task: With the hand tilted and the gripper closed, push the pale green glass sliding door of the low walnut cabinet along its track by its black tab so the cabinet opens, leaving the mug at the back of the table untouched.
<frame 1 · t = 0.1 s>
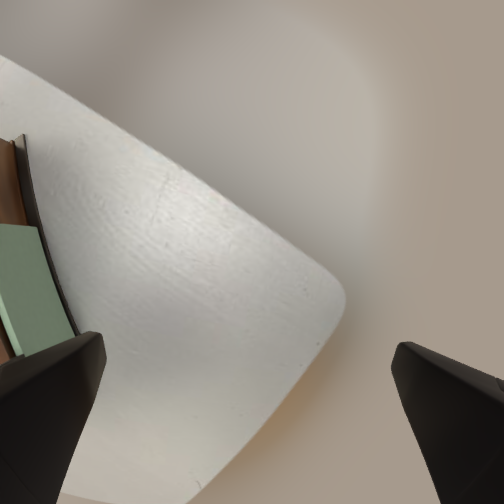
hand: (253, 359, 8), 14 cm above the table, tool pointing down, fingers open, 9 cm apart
sliding door: (2, 296, 14), point 7 cm above the table, slide at 0.0 cm
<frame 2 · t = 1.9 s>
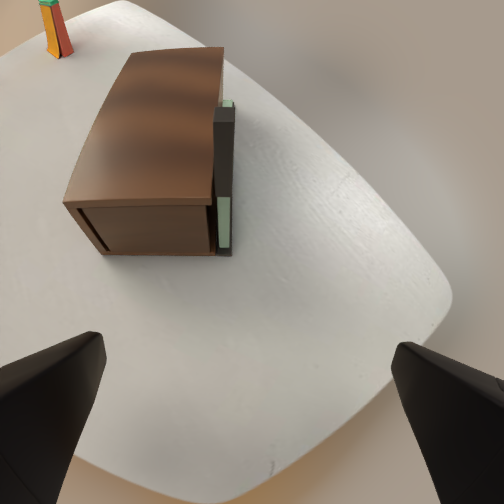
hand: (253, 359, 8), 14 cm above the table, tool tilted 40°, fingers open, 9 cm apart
sliding door: (225, 145, 21), point 7 cm above the table, slide at 0.0 cm
cabinet: (169, 163, 29), on the table
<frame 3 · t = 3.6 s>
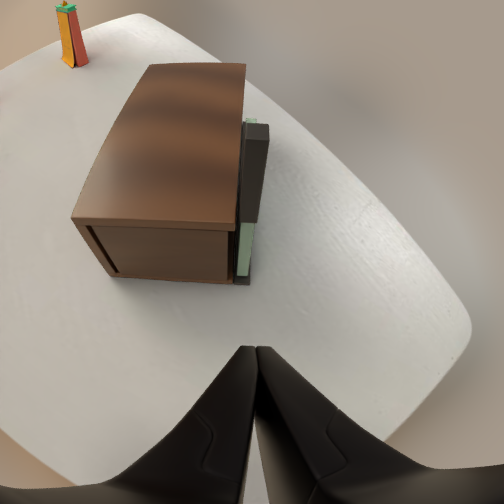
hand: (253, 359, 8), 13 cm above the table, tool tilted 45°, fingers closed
sliding door: (249, 166, 20), point 7 cm above the table, slide at 0.0 cm
cabinet: (184, 183, 28), on the table
building blocks: (5, 99, 38), on the table
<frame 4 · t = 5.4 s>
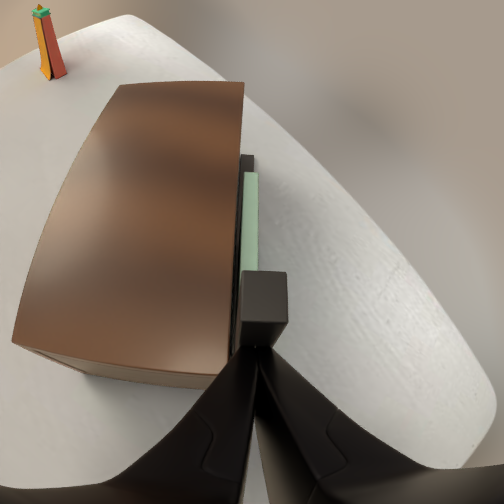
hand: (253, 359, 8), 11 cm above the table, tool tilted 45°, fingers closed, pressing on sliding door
sliding door: (248, 258, 14), point 7 cm above the table, slide at 0.1 cm, touching gripper
cabinet: (166, 246, 22), on the table
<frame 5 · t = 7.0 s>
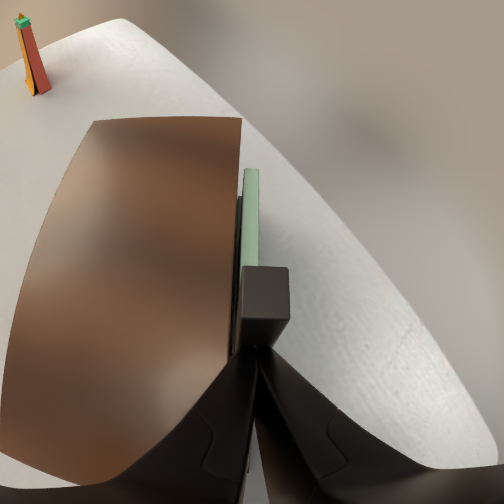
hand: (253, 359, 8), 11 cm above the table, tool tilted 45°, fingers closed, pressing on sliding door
sliding door: (249, 255, 14), point 7 cm above the table, slide at 5.5 cm, touching gripper
cabinet: (155, 314, 19), on the table
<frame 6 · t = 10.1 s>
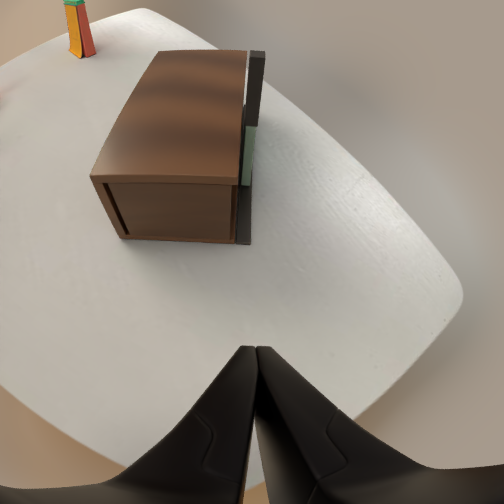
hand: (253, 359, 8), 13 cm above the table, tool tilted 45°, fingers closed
sliding door: (251, 98, 25), point 7 cm above the table, slide at 5.5 cm
cabinet: (190, 157, 30), on the table
building blocks: (14, 87, 40), on the table
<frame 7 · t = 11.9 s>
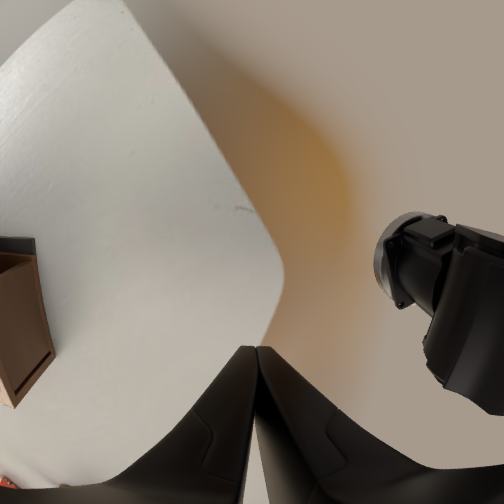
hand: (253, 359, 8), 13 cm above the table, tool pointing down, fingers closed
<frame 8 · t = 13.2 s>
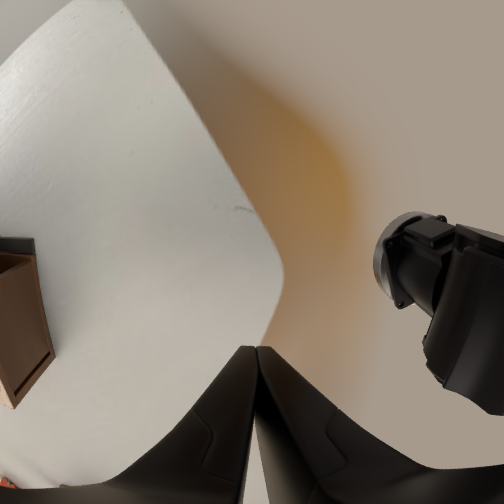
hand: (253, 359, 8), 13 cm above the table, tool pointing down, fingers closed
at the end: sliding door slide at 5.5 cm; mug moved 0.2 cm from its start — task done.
